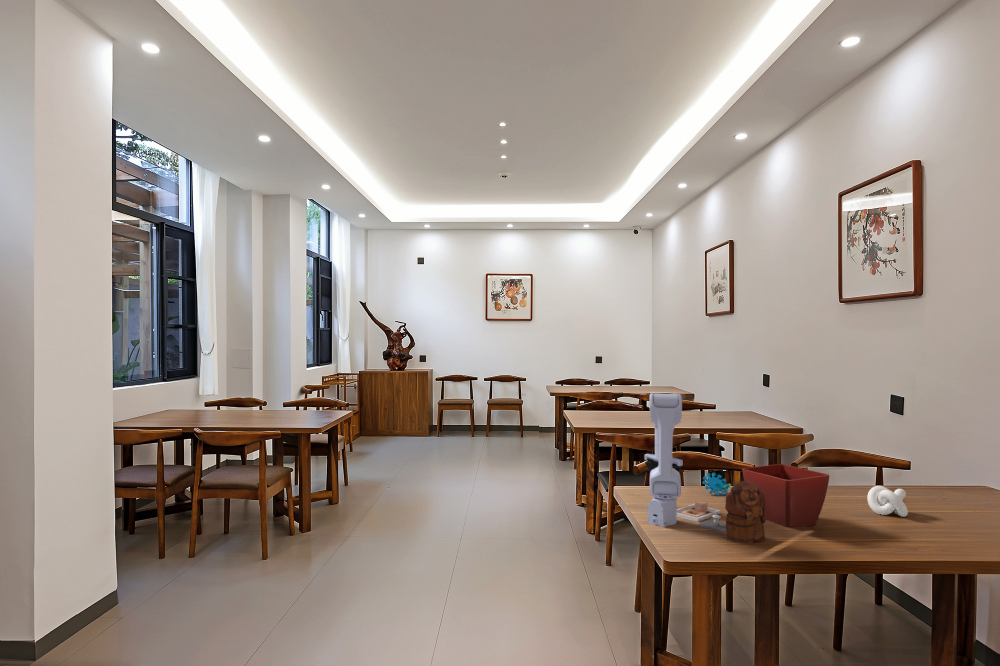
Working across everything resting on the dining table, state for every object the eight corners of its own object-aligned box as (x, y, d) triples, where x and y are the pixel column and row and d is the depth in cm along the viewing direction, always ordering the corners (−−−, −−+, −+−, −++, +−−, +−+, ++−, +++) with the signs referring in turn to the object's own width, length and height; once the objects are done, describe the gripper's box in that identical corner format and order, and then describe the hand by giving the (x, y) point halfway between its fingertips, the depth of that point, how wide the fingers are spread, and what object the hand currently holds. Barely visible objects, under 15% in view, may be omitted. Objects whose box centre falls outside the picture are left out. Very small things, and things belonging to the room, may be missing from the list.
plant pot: (740, 517, 190) (740, 467, 190) (781, 511, 197) (781, 463, 197) (788, 534, 172) (788, 480, 172) (832, 527, 179) (831, 475, 179)
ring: (696, 520, 185) (696, 509, 185) (680, 515, 189) (680, 505, 189) (712, 514, 191) (712, 503, 191) (696, 510, 196) (696, 500, 196)
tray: (697, 524, 181) (697, 518, 181) (670, 517, 189) (670, 511, 189) (720, 516, 190) (720, 510, 190) (693, 509, 198) (693, 503, 198)
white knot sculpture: (920, 519, 187) (920, 493, 187) (885, 519, 187) (885, 493, 187) (896, 510, 198) (896, 484, 199) (863, 510, 198) (862, 484, 198)
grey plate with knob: (722, 535, 171) (722, 522, 171) (695, 528, 178) (695, 515, 178) (736, 529, 176) (736, 517, 176) (710, 522, 183) (710, 510, 183)
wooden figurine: (739, 549, 160) (739, 486, 160) (723, 541, 166) (723, 481, 166) (771, 544, 164) (770, 482, 164) (754, 537, 170) (753, 478, 170)
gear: (705, 492, 215) (701, 470, 223) (700, 499, 220) (697, 477, 227) (734, 496, 215) (729, 474, 222) (728, 504, 219) (724, 482, 226)
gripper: (687, 446, 196) (687, 485, 195) (652, 440, 207) (652, 477, 206) (676, 448, 191) (676, 488, 191) (641, 442, 202) (641, 480, 202)
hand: (663, 482), depth 198 cm, fingers open, 7 cm apart
